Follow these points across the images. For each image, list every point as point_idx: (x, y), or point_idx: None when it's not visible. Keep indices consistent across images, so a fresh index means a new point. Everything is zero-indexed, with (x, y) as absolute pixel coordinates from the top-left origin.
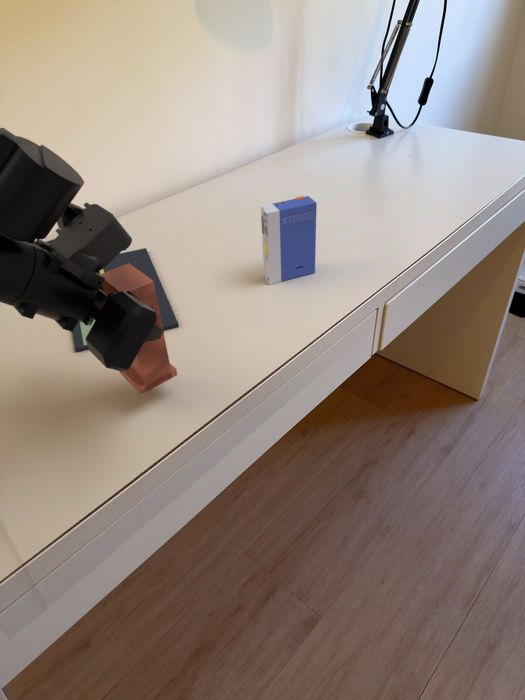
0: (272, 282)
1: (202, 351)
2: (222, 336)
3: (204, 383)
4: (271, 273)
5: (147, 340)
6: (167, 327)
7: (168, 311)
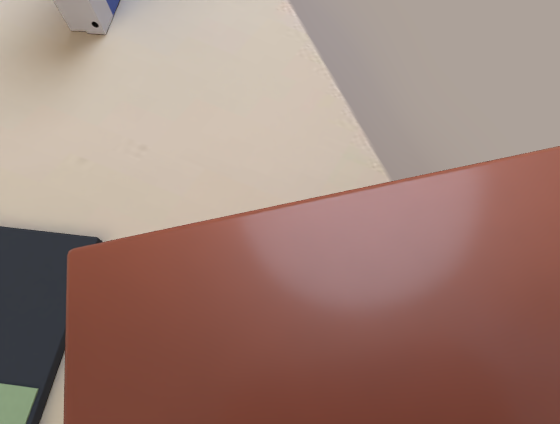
0: (105, 26)
1: None
2: (204, 171)
3: None
4: (95, 6)
5: None
6: None
7: (30, 241)
